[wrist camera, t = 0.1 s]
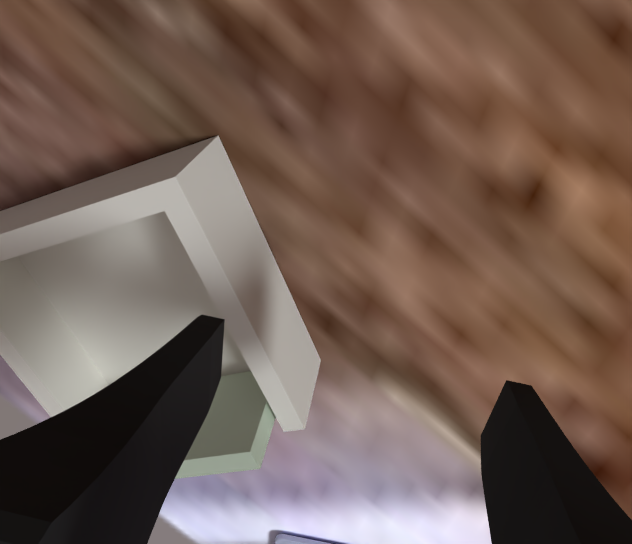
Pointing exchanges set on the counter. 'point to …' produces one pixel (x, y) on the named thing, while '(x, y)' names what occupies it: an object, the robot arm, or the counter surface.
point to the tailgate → (231, 430)
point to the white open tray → (147, 282)
